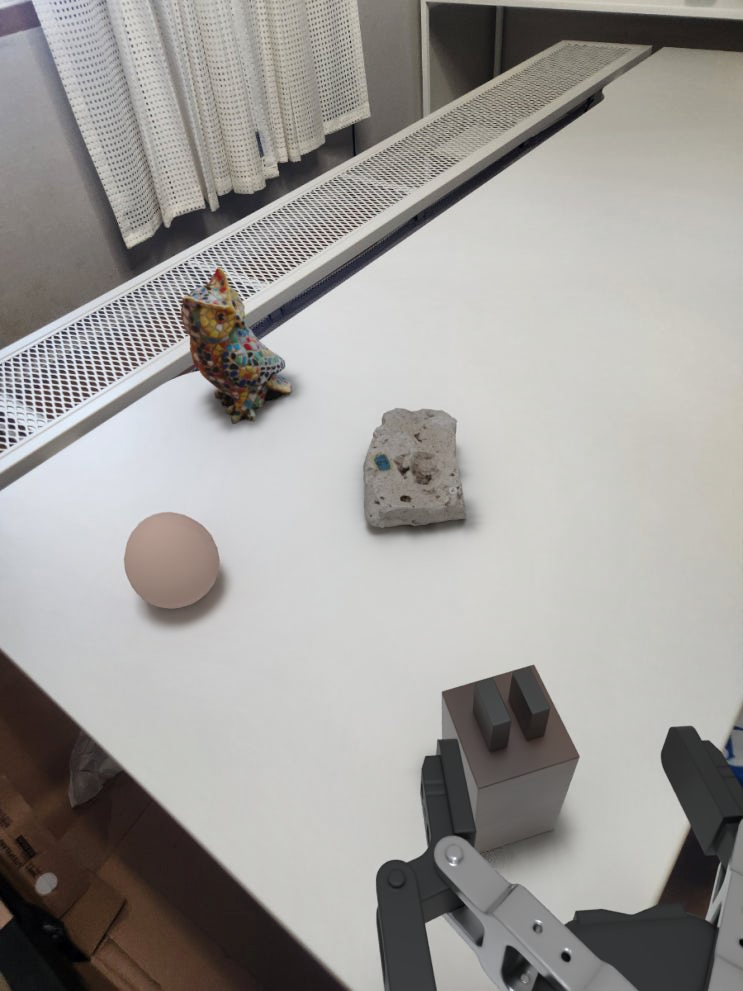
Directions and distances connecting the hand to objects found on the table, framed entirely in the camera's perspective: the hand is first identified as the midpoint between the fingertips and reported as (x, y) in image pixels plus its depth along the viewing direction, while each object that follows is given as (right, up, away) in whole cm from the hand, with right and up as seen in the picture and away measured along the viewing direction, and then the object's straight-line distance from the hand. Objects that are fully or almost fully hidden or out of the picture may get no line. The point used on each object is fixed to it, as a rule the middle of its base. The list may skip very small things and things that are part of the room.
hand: (559, 746), depth 25 cm
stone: (-3, +10, +38) cm, 39 cm away
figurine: (-20, +19, +49) cm, 56 cm away
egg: (-22, +1, +32) cm, 39 cm away
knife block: (+1, -10, +18) cm, 21 cm away
